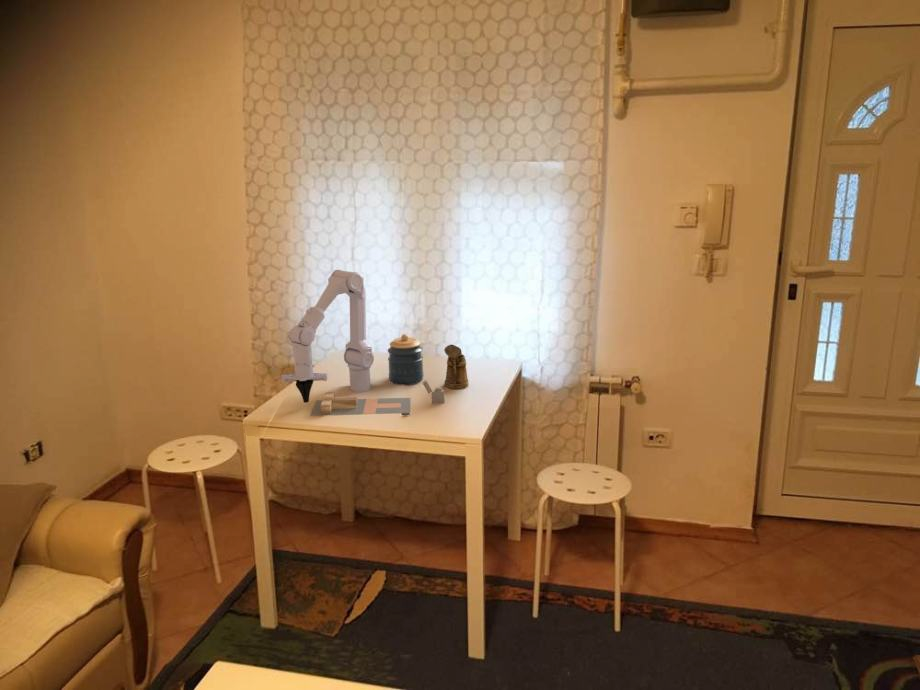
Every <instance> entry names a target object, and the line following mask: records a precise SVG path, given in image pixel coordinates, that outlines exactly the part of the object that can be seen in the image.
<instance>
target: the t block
mask: <svg viewBox="0 0 920 690" xmlns="http://www.w3.org/2000/svg"><path fill="white" fill-rule="evenodd" d="M357 399H358V396H336V394H335V392H325V394H324V396H323V399H322V400H323V401H322V403H321V414H331V411H332V409H346V408H357V405H358V404H357Z"/></svg>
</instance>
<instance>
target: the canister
mask: <svg viewBox="0 0 920 690" xmlns="http://www.w3.org/2000/svg"><path fill="white" fill-rule="evenodd" d="M389 346H390V347H388V349H387V353H389V354H388V356H389V357H388V358H387V360H388V379H389V382H390V383H392V384H395V385H405V386H408V385H415V384H419V383H421V382H423V380H424V375H425V374H424V368H423V367H424V361H423V360H424V356H423V355H422V353H423V350H424V349H423V347H422V346H421V341H419V340H417V339H416V338H414V337H409V335H408V334H407V333H403V334H402V335H401V336H400V337H397V338H395V339H393V340H392V341H390V343H389Z"/></svg>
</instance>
